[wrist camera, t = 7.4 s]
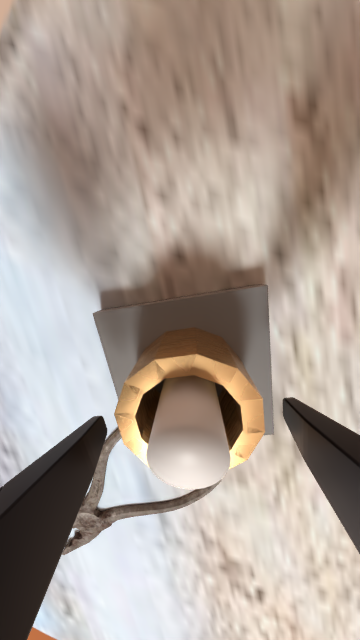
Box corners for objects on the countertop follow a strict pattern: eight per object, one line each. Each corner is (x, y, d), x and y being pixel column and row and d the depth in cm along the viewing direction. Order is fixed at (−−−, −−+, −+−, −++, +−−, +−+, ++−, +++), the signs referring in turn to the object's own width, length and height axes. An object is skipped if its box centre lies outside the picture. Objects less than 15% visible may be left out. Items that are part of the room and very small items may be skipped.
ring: (235, 321, 10) (258, 345, 7) (245, 413, 11) (267, 472, 8) (128, 337, 11) (99, 367, 7) (151, 422, 12) (135, 480, 9)
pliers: (237, 470, 14) (120, 580, 19) (234, 459, 14) (123, 567, 19) (129, 410, 13) (36, 542, 18) (132, 401, 13) (43, 530, 18)
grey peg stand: (260, 284, 10) (350, 298, 4) (267, 422, 13) (332, 546, 7) (101, 310, 11) (5, 348, 5) (136, 433, 14) (96, 549, 8)
